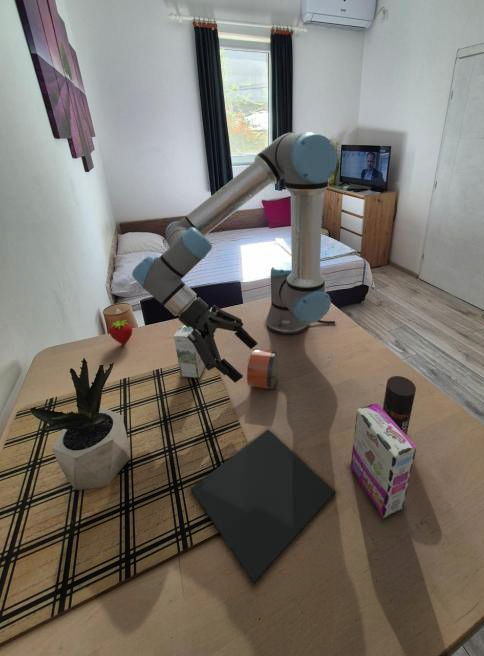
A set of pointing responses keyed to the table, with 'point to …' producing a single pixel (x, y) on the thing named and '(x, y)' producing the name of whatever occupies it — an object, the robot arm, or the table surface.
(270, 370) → the jar
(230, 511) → the mat
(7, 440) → the table surface
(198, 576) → the table surface
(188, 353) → the syrup box
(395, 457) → the candy bar box
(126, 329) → the strawberry
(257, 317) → the table surface
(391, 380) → the deodorant
